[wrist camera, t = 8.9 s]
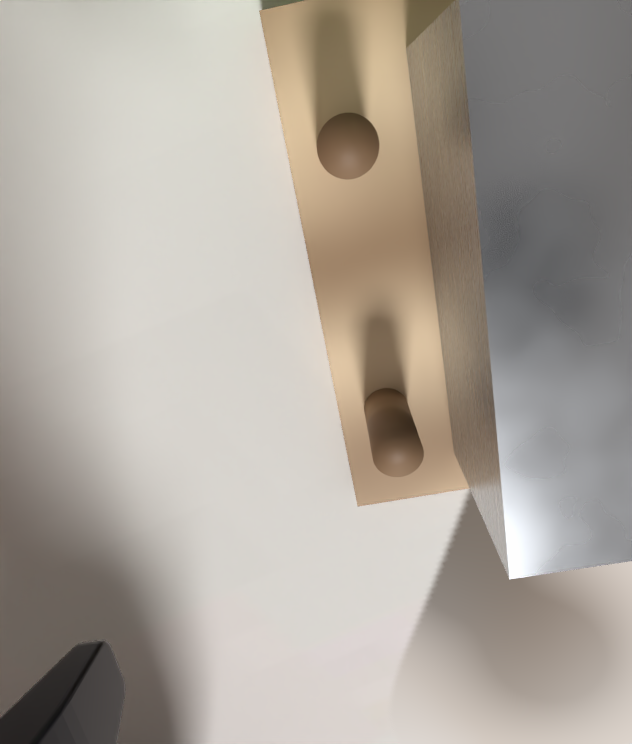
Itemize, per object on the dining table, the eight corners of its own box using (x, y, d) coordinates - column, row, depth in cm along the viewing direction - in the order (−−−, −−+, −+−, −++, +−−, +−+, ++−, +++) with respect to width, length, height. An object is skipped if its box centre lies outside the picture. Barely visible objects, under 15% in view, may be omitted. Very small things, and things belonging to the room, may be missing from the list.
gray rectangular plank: (545, 437, 19) (639, 559, 14) (454, 452, 19) (509, 579, 14) (520, -41, 14) (649, -156, 9) (398, -15, 15) (449, -109, 9)
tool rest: (640, 443, 20) (712, 511, 17) (355, 490, 21) (364, 565, 17) (644, -68, 15) (753, -136, 11) (262, 18, 16) (246, -19, 12)
